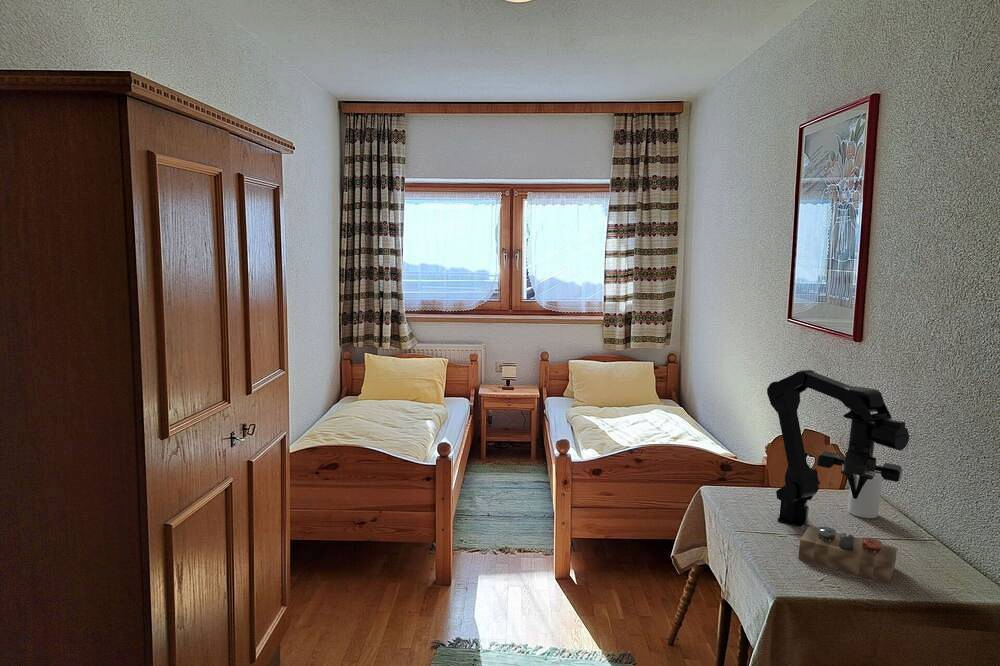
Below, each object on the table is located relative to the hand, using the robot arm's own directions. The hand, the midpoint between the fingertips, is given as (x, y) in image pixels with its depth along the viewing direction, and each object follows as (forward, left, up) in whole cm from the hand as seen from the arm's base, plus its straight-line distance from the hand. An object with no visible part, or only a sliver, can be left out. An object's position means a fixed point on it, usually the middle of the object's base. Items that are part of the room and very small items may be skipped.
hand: (855, 498), depth 187 cm
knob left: (-4, -11, -13) cm, 17 cm away
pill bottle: (-1, +27, -13) cm, 30 cm away
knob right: (+6, -11, -13) cm, 18 cm away
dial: (+1, -14, -8) cm, 16 cm away
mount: (+1, -11, -13) cm, 17 cm away
